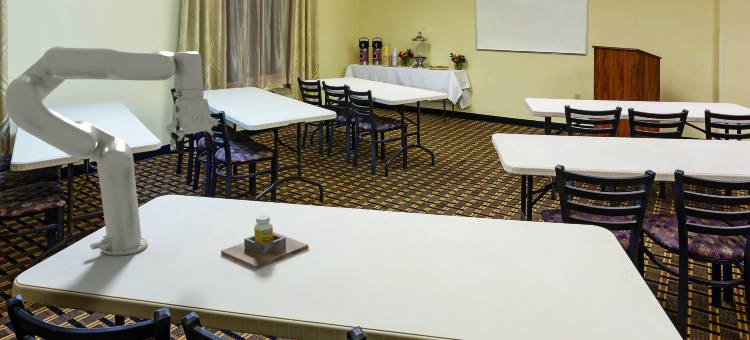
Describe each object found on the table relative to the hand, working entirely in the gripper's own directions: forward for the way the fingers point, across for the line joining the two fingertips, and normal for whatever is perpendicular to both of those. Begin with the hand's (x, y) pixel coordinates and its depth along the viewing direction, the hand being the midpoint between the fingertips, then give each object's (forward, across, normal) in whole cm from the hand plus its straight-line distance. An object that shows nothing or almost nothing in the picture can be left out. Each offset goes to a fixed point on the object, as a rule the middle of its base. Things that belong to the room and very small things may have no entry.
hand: (194, 150), depth 180 cm
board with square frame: (+28, +6, -24) cm, 38 cm away
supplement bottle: (+27, +6, -24) cm, 37 cm away
